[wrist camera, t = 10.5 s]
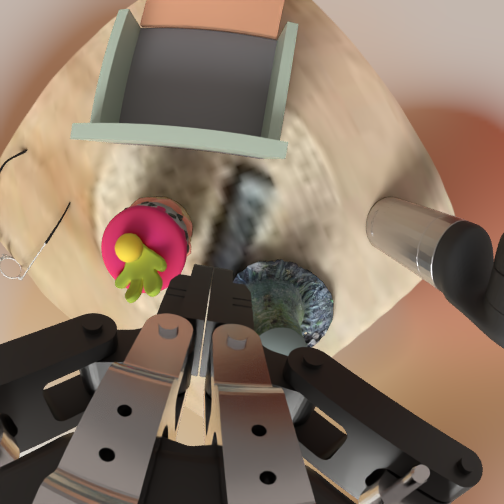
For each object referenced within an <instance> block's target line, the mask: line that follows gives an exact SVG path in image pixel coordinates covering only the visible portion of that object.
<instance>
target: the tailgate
mask: <svg viewBox="0 0 504 504" xmlns="http://www.w3.org/2000/svg"><path fill="white" fill-rule="evenodd" d="M283 5H284V0H147V1H146V4H145V8H144V12H143V16H142V19H141V23H140V26H142V27H180V28H199V29H211V30H221V31H229V32H237V33H244V34H250V35H256V36H262V37H267V38H272V39H276V38H277V34H278V29H279V24H280V19H281V15H282V10H283Z"/></svg>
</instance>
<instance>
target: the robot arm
mask: <svg viewBox="0 0 504 504" xmlns="http://www.w3.org/2000/svg"><path fill="white" fill-rule="evenodd" d="M366 232H367V236H368V239H369V241H370V242H371V244H372V245H373V246H374V247H376V248H377V249H379V250H380V251H382V252H383V253H385V254H386V255H388V256H389V257H391V258H392V259H394V260H395V261H397V262H398V263H400V264H402V265H403V266H405V267H406V268H408V269H409V270H411V271H412V272H414V273H415V274H416V275H418V276H419V277H421V278H422V279H424V280H425V281H427V282H428V283H430V284H431V285H433V286H434V287H435V288H437V289H439V290H440V291H441V292H443V294H444V295H445V297H446V299H447V300H448V301H449V302H450V303H451V304H452V305H453V306H455V307H456V308H457V309H458V310H459V311H460V312H462V313H463V314H464V315H465V316H466V317H467V318H469V320H471V321H472V322H473V323H474V324H475V325H476V326H477V327H478V328H479V329H480V330H481V331H483V333H485V334H486V335H487V336H488V337H489V338H490V339H491V340H493V341H494V342H495V343H497V344H498V345H499V346H501V347H502V348H504V233H503V235H502V236H501V238H500V241H499V244H498V248H497V251H496V255H495V259H493V248H492V243H491V239H490V237H489V235H488V233H487V232H486V231H485V230H484V229H483V228H482V227H480V226H479V225H477V224H474V223H472V222H469V221H466V220H463V219H461V218H458V217H455V216H452V215H449V214H446V213H443V212H440V211H437V210H434V209H431V208H428V207H424V206H421V205H418V204H415V203H412V202H409V201H405V200H402V199H398V198H394V197H387V198H383V199H381V200H380V201H378V202H377V203H376V204H375V205H374V206H373V207H372V209H371V211H370V212H369V215H368V218H367V222H366ZM212 270H213V267H209V266H203V265H197V264H194V267H193V270H192V274H191V276H187V275H181V274H178V275H177V276H175V277H174V278H172V279H171V281H170V283H169V285H168V288H167V290H166V293H165V295H164V298H163V300H162V303H161V305H160V308H159V310H158V313H157V315H154V316H152V317H150V318H149V319H148V320H147V321H146V322H145V324H144V326H143V328H140V329H135V330H117V326H116V324H115V322H114V321H113V320H112V319H111V318H109V317H108V316H105V315H102V314H96V313H91V314H85V315H81V316H79V317H76V318H73V319H70V320H68V321H65V322H62V323H59V324H57V325H54V326H51V327H48V328H45V329H42V330H39V331H37V332H34V333H31V334H28V335H25V336H23V337H20V338H17V339H14V340H11V341H8V342H6V343H3V344H0V504H356V503H354V502H353V501H352V500H350V499H349V498H348V497H347V496H345V495H344V494H343V493H341V492H340V491H339V490H337V489H336V488H335V487H334V486H333V485H332V484H330V483H329V482H328V481H327V480H326V479H324V478H323V477H322V476H321V475H319V474H318V473H317V472H316V471H314V470H313V469H311V468H310V467H308V466H306V465H305V464H304V460H303V458H305V459H306V460H307V461H308V462H309V463H311V464H312V465H313V466H314V467H315V468H317V469H318V470H319V471H320V472H322V473H323V474H324V475H326V476H327V477H328V478H329V479H331V480H332V481H333V482H335V483H336V484H337V485H339V486H340V487H341V488H343V489H344V490H345V491H347V492H348V493H350V494H351V495H352V496H354V497H355V498H356V499H358V500H359V502H358V504H451V502H452V501H454V500H455V499H456V498H458V497H459V496H461V495H462V494H464V493H465V492H466V491H468V490H469V489H470V488H472V487H473V486H474V485H476V484H477V483H478V482H479V480H480V479H481V476H482V472H483V471H482V470H483V468H482V464H481V461H480V459H479V457H478V456H477V454H476V453H474V452H473V451H472V450H470V449H469V448H467V447H466V446H464V445H462V444H461V443H459V442H457V441H456V440H454V439H453V438H451V437H449V436H448V435H446V434H444V433H443V432H441V431H440V430H438V429H437V428H435V427H433V426H432V425H430V424H429V423H427V422H426V421H424V420H422V419H421V418H419V417H418V416H416V415H414V414H413V413H412V412H410V411H409V410H407V409H405V408H404V407H402V406H401V405H399V404H398V403H396V402H395V401H393V400H392V399H390V398H389V397H388V396H386V395H385V394H383V393H382V392H380V391H379V390H377V389H376V388H374V387H373V386H371V385H370V384H368V383H367V382H365V381H364V380H362V379H361V378H360V377H358V376H357V375H355V374H354V373H352V372H351V371H350V370H348V369H347V368H345V367H344V366H342V365H341V364H340V363H338V362H337V361H335V360H334V359H333V358H331V357H330V356H328V355H327V354H326V353H324V352H322V351H320V350H318V349H315V348H311V347H299V348H296V349H294V350H292V351H291V352H290V353H289V355H288V356H286V355H283V354H280V353H277V352H274V351H272V350H270V349H268V348H266V347H264V346H263V345H262V342H261V339H260V337H259V335H258V334H257V333H256V332H255V330H254V320H253V310H252V302H251V301H252V299H251V292H250V291H249V289H248V288H247V287H246V286H245V285H244V284H237V283H233V270H228V269H222V268H216V267H215V268H214V274H213V280H212V287H211V293H210V300H209V307H208V314H207V321H206V328H205V336H204V344H203V351H202V359H201V368H200V376H201V377H206V379H205V388H204V396H203V406H204V445H202V446H187V445H184V444H181V443H178V442H176V436H177V432H178V428H179V424H180V420H181V416H182V412H183V408H184V404H185V400H186V396H187V389H188V387H189V385H190V380H191V375H194V376H197V375H198V368H199V360H200V352H201V345H202V338H203V331H204V324H205V317H206V310H207V303H208V296H209V289H210V283H211V276H212ZM77 370H79V371H80V375H77V376H75V377H73V378H71V379H68V380H66V381H64V382H62V383H59V384H57V385H55V386H53V387H50V388H48V389H45V390H43V389H44V387H45V386H46V385H47V384H48V383H50V382H52V381H54V380H56V379H58V378H61V377H63V376H65V375H67V374H70V373H72V372H75V371H77ZM315 407H318V408H319V409H320V410H321V411H323V412H324V413H325V414H327V415H328V416H329V417H330V418H332V419H333V420H334V421H336V422H337V423H338V424H340V425H341V426H342V427H343V428H344V429H345V431H346V433H347V435H346V434H344V433H343V432H342V431H340V430H339V429H338V428H336V427H335V426H334V425H332V424H331V423H330V422H328V421H327V420H326V419H325V418H323V417H322V416H321V415H319V414H318V413H317V412H316V411H314V409H315ZM76 426H77V428H76V430H75V432H72V433H69V434H66V435H64V436H62V437H59V438H57V439H56V440H54V441H52V442H50V443H48V444H46V445H44V446H42V447H40V448H38V449H36V450H35V451H32V452H31V453H28V454H26V455H24V456H23V457H20V458H19V455H20V453H21V452H23V451H26V450H28V449H30V448H32V447H35V446H37V445H39V444H41V443H43V442H45V441H48V440H50V439H52V438H54V437H56V436H58V435H60V434H62V433H64V432H66V431H68V430H70V429H72V428H74V427H76Z"/></svg>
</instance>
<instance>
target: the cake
mask: <svg viewBox="0 0 504 504" xmlns="http://www.w3.org/2000/svg"><path fill="white" fill-rule="evenodd" d="M192 230H193V228H192V222H191V220H190V217H189V215H188V214H187V212H186V210H185V209H184V208H183V207H182V206H181V205H180V204H179V203H178V202H176V201H174V200H172V199H169V198H167V197H153V198H152V197H145V198H139V199H138V200H137V201H135V202H134V203H133V204H132V205H131V206H130V207H129V208H125V209H124V210H123V211H122V212H120V213H119V214H117V215H116V216H115V217H114V218H113V219H112V220H111V221H110V222H109V224H108V225H107V227H106V229H105V231H104V234H103V238H102V246H101V249H102V257H103V260H104V263H105V266H106V268H107V269H108V271H109V273H110V274H111V275H112V277H113V278H114V279H115V286H116V287H117V288H121V289H122V288H125V287H126V288H128V290H127V292H126V294H125V298H126V300H127V301H128V302H129V303H133V302H135V301H136V300H137V299H138V298H139V297H140V295H141V293H147V294H148V295H149V296H151V297H154V296H156V295H158V294H159V292H160V291H161V290H163V289H165V288H167V287H168V285H169V283H170V281H171V279H172V278H174V277H175V276H177V275H178V274H181V272H182V270H183V268H184V265H185V262H186V257H187V256H188V255H189V254H191V244H190V241H191V237H192Z"/></svg>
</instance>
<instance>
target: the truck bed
mask: <svg viewBox="0 0 504 504" xmlns="http://www.w3.org/2000/svg"><path fill="white" fill-rule="evenodd" d="M297 30H298V24H296V23H292V22H287V24H286V25H285V27H284V29H283V31H282V33H281V34H280V36H279V38H278V40H272V39H267V38H262V37H256V36H251V35H244V34H237V33H230V32H221V31H212V30H200V29H183V28H140V26H139V24H138V23H137V21H136V19H135V18H134V16H133V15H132V13H131V12H130V10H129V9H123V10H119V12H118V15H117V18H116V20H115V23H114V26H113V29H112V32H111V36H110V39H109V42H108V45H107V49H106V52H105V56H104V60H103V63H102V67H101V71H100V76H99V80H98V84H97V89H96V94H95V98H94V104H93V109H92V115H91V121H90V123H73V124H72V131H71V138H70V139H77V140H88V141H99V142H108V143H117V144H129V145H146V146H159V147H171V148H182V149H191V150H201V151H209V152H217V153H225V154H232V155H239V156H245V157H252V158H258V159H285V158H286V152H287V146H288V142H284V141H280V136H281V130H282V124H283V117H284V111H285V105H286V99H287V93H288V87H289V81H290V74H291V68H292V62H293V56H294V49H295V43H296V37H297Z"/></svg>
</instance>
